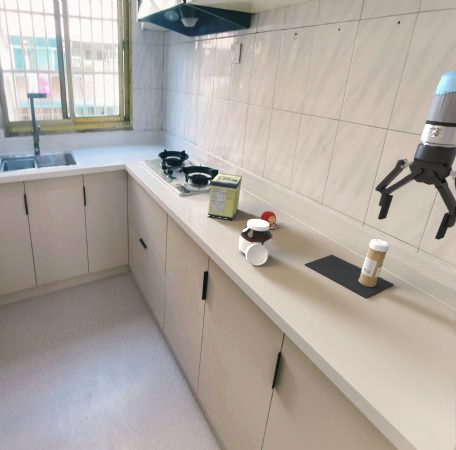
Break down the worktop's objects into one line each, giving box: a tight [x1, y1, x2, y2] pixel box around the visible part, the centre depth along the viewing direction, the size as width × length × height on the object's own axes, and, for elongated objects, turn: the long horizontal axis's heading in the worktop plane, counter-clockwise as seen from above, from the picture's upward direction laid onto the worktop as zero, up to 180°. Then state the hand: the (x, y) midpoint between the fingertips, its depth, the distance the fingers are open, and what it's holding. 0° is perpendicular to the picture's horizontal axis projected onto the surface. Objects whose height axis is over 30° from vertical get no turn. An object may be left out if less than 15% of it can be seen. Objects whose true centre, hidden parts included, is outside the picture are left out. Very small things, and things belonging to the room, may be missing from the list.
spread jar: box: [238, 218, 273, 267], centre depth 109 cm, size 12×11×12 cm
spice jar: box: [358, 238, 391, 287], centre depth 96 cm, size 5×5×14 cm
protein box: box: [207, 172, 243, 220], centre depth 145 cm, size 10×16×16 cm
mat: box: [304, 254, 395, 299], centre depth 104 cm, size 20×14×1 cm
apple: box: [260, 210, 279, 230], centre depth 135 cm, size 8×8×6 cm
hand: (408, 227), depth 87 cm, fingers open, 13 cm apart
